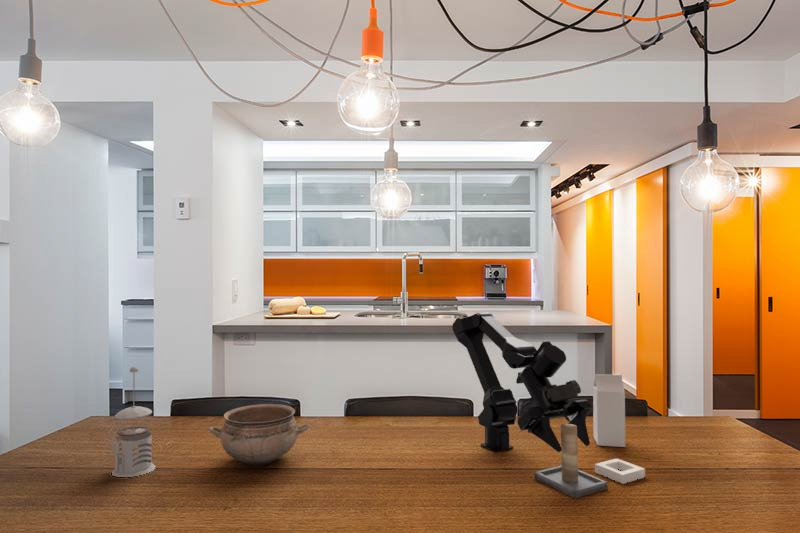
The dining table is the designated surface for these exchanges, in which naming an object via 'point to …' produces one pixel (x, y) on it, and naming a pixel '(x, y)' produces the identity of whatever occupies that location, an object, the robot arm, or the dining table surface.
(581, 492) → the tray
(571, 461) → the dowel
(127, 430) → the french press
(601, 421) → the milk carton
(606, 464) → the socket
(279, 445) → the cooking pot
